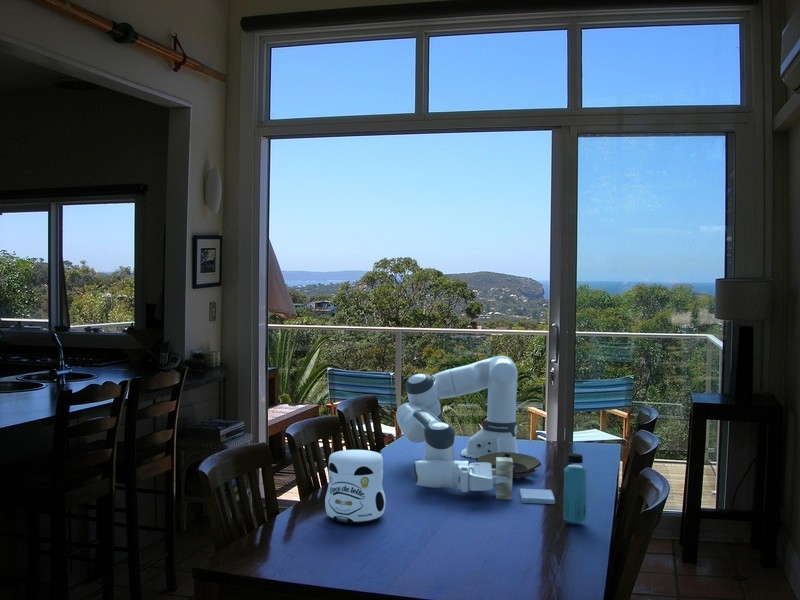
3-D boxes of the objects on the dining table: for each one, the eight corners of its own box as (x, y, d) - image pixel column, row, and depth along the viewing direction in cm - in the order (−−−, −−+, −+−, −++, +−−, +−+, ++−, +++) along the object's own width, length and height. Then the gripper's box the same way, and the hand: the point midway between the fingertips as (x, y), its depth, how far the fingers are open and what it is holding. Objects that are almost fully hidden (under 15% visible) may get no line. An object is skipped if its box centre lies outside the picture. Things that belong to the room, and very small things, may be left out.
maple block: (495, 498, 227) (496, 461, 227) (495, 494, 232) (496, 457, 232) (511, 499, 226) (512, 461, 226) (511, 494, 231) (511, 457, 231)
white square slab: (522, 502, 223) (522, 497, 223) (519, 493, 233) (519, 488, 233) (554, 504, 222) (554, 499, 222) (551, 494, 232) (551, 489, 232)
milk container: (330, 530, 196) (331, 465, 195) (320, 510, 213) (321, 450, 212) (391, 526, 201) (393, 461, 200) (377, 506, 217) (378, 447, 217)
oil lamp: (548, 471, 261) (549, 450, 261) (521, 492, 235) (522, 468, 235) (490, 462, 272) (491, 442, 272) (459, 481, 246) (459, 459, 245)
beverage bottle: (586, 529, 201) (588, 457, 200) (562, 527, 202) (564, 456, 201) (585, 521, 207) (587, 452, 206) (561, 519, 208) (563, 450, 208)
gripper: (463, 475, 241) (505, 477, 239) (462, 493, 220) (508, 495, 219) (463, 456, 240) (505, 458, 239) (463, 473, 220) (508, 475, 219)
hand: (506, 476), depth 229 cm, fingers closed on maple block, 5 cm apart
